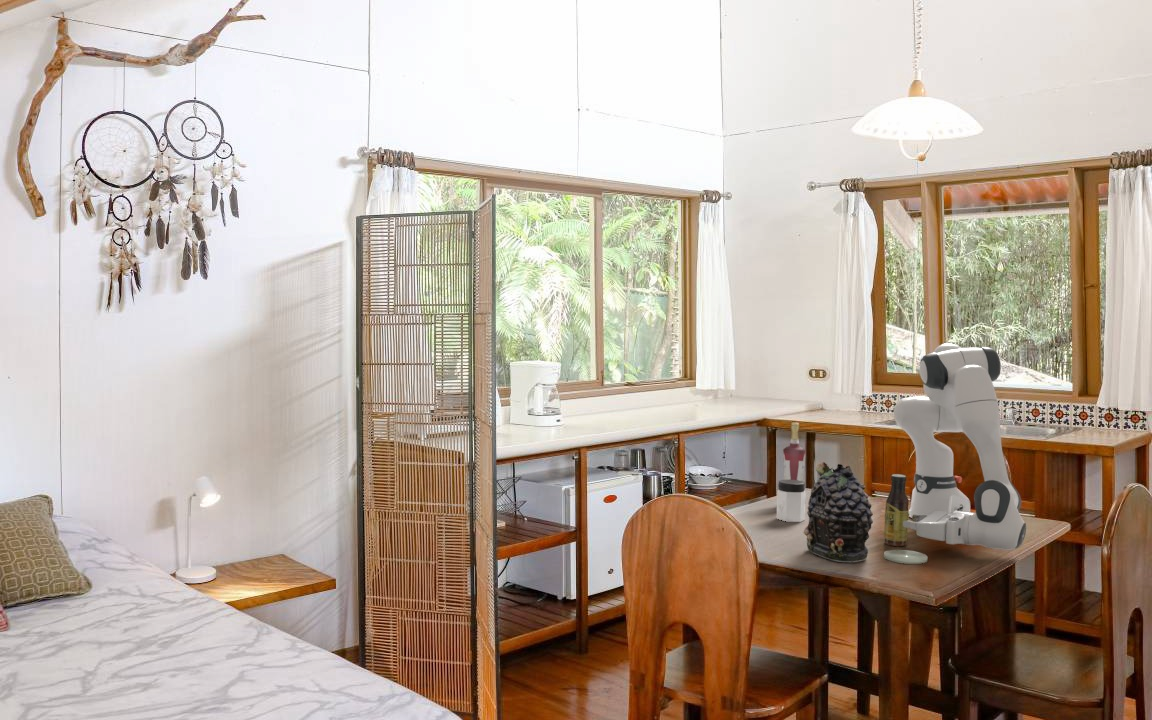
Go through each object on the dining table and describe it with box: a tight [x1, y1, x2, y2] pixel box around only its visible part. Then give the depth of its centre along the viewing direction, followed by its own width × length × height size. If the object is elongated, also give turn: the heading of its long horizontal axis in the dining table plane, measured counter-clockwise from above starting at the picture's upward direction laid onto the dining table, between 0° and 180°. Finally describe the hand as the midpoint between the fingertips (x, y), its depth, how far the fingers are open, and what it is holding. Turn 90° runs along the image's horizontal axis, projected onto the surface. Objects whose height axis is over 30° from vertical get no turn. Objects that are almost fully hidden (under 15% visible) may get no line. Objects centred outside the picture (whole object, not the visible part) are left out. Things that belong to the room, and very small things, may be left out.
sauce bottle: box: [883, 473, 910, 547], centre depth 271 cm, size 7×6×20 cm
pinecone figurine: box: [802, 461, 874, 563], centre depth 257 cm, size 21×15×25 cm
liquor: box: [782, 422, 806, 482], centre depth 323 cm, size 7×7×28 cm
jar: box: [776, 479, 807, 523], centre depth 302 cm, size 9×8×12 cm
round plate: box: [883, 549, 928, 565], centre depth 256 cm, size 11×11×1 cm
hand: (908, 520), depth 269 cm, fingers open, 8 cm apart
